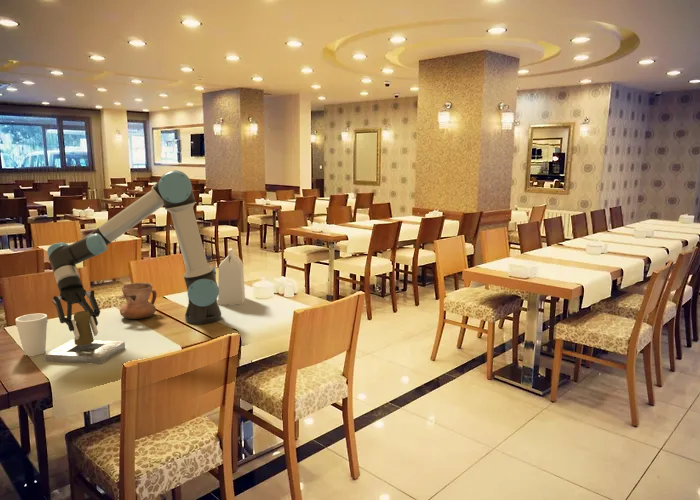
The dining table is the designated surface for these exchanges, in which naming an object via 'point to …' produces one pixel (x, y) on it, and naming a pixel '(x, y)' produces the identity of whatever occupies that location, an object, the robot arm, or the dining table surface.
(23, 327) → the foam cup
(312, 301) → the dining table surface
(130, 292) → the ceramic jug
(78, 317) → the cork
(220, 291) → the milk
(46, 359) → the plate
